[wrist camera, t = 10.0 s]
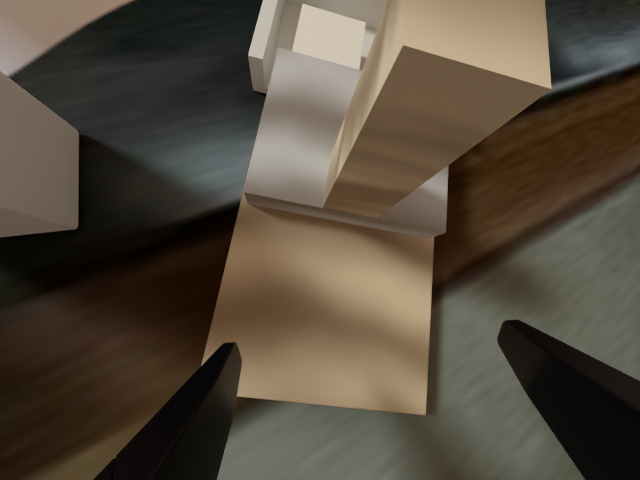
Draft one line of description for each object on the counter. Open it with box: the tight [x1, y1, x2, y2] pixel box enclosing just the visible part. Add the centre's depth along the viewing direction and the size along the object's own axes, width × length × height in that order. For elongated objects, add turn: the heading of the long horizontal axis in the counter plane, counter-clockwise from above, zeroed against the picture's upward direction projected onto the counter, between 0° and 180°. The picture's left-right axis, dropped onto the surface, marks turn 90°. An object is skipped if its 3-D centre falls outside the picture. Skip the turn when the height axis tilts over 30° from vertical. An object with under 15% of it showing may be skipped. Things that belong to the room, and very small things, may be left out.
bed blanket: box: [244, 0, 551, 239], centre depth 12 cm, size 11×13×12 cm
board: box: [201, 87, 434, 415], centre depth 17 cm, size 21×14×2 cm, turn 171°
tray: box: [248, 0, 388, 94], centre depth 20 cm, size 10×17×3 cm, turn 81°
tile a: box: [292, 4, 366, 69], centre depth 19 cm, size 5×5×2 cm
